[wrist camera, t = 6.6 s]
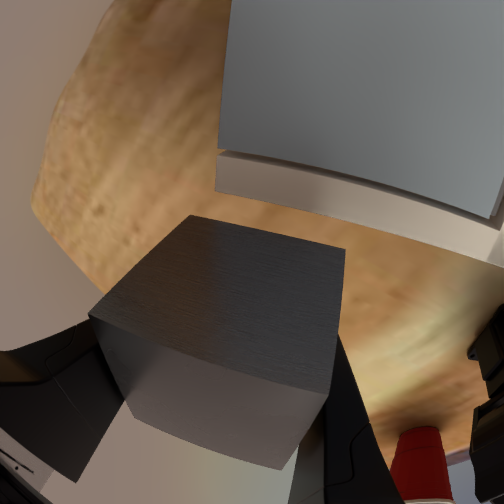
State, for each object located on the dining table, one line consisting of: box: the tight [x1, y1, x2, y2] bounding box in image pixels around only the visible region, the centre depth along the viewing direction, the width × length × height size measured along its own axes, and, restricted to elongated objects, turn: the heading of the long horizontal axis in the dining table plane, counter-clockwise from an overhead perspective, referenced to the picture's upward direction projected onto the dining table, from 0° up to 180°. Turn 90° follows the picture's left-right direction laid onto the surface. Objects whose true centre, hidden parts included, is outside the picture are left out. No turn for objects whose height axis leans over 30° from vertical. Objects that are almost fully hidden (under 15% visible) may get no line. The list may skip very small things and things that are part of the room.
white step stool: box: [215, 150, 504, 268], centre depth 10 cm, size 14×15×8 cm
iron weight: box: [88, 215, 346, 470], centre depth 9 cm, size 5×5×5 cm
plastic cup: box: [390, 427, 456, 504], centre depth 25 cm, size 11×11×12 cm
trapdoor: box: [218, 0, 504, 219], centre depth 7 cm, size 12×11×1 cm
